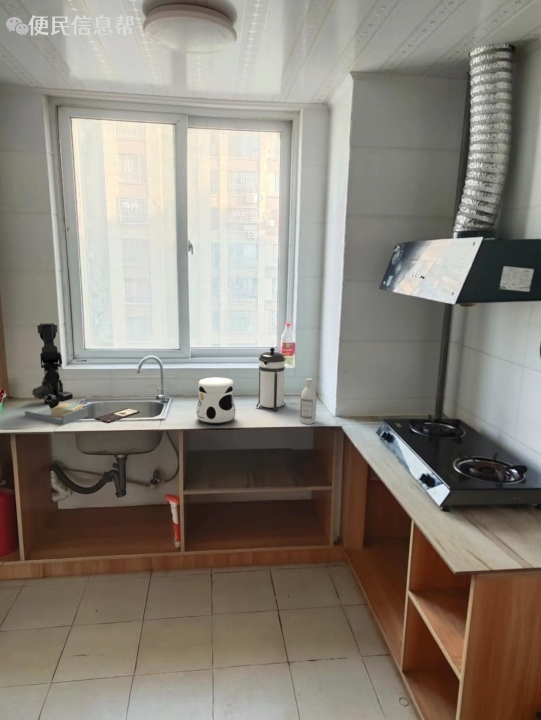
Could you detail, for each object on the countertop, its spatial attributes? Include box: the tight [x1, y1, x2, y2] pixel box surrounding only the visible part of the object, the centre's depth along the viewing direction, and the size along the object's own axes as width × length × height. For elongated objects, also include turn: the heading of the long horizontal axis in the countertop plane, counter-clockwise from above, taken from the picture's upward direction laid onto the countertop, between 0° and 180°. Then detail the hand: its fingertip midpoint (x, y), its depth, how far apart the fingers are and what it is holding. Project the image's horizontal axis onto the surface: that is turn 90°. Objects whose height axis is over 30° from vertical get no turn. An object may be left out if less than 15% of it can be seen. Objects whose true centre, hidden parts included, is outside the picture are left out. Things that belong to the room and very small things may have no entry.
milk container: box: [196, 377, 236, 425], centre depth 207 cm, size 17×17×18 cm
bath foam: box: [299, 377, 317, 425], centre depth 208 cm, size 7×7×20 cm
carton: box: [51, 402, 84, 419], centre depth 204 cm, size 8×10×5 cm
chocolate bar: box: [94, 408, 141, 424], centre depth 211 cm, size 9×1×18 cm
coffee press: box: [255, 347, 286, 412], centre depth 228 cm, size 17×16×30 cm
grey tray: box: [24, 406, 89, 426], centre depth 204 cm, size 13×24×6 cm, turn 65°
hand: (53, 412), depth 206 cm, fingers closed
